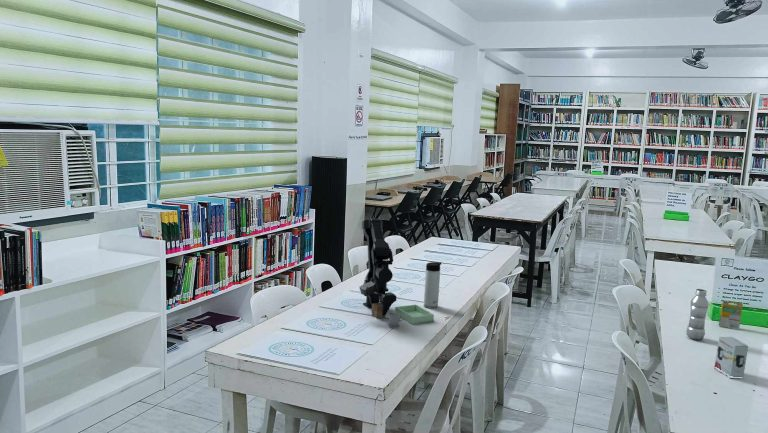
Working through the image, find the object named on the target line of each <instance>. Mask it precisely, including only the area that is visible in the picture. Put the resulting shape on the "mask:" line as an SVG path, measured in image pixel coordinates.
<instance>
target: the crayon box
mask: <svg viewBox="0 0 768 433" xmlns="http://www.w3.org/2000/svg"><path fill="white" fill-rule="evenodd" d="M743 305H744V303H742V302H735V301H728V300H723V301H722V303H721V305H720V306H721V308H720V314H719V315H720V316H719V322H718V326H719V327H720V328H725V327H726V328H725V329H731V328H732V329H733V330H737V329H738V331H739V330H740V326H741V318H742V312H743Z"/></svg>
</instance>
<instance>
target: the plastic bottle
mask: <svg viewBox="0 0 768 433" xmlns="http://www.w3.org/2000/svg"><path fill="white" fill-rule="evenodd" d="M706 296H707V290H706V289H703V288H696V291H695V295H694V297H693V298H691V300H690V314H689V321H688V325H687V327H686V336H687V338H689V339H692V340H696V341H698V340H699V341H700V340H703V339H704V338H705V334H706V333H705V332H706V329H705V323H706V321H705V320H706V316H707V312H708V309H709V306H710V303H709V301H708V299H707V297H706Z"/></svg>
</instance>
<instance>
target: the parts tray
mask: <svg viewBox="0 0 768 433" xmlns="http://www.w3.org/2000/svg"><path fill="white" fill-rule="evenodd" d="M394 308H395V309H394V310H395V312H394V313H398V314H399V316H400V317H399V318H401V317H402V319H403V320H404V321H405V322H408V323H409V324H411V325H418V324H419V325H420V324H425V323H426V324H427V323H431V322H434V317H435V314H434V313H432V312H431V311H429V310H427V309H425V308H424V307H422V306H419V305H418V304H408V305H401V306H400V305H399V306H395V307H394Z"/></svg>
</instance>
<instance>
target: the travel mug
mask: <svg viewBox="0 0 768 433" xmlns="http://www.w3.org/2000/svg"><path fill="white" fill-rule="evenodd" d="M425 265H426V266H425V267H426V268H425V277H424V278H425V279H424V294H423V295H424V296H423V306H424V307H425V308H426V309H433V310H434V309H437V308H439V298H440V297H439V296H440V295H439V293H440V276H441V265H442V262H441V261H440V262H439V261H432V262H428V263H426V264H425ZM424 307H423V308H424Z"/></svg>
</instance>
